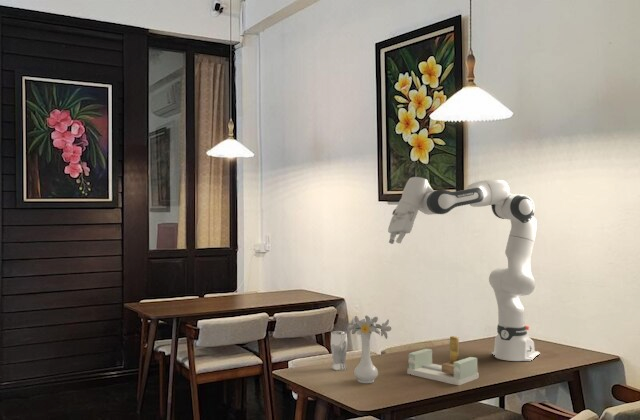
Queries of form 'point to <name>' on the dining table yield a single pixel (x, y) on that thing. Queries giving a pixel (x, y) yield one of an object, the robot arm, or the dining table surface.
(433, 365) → the track
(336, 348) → the beer glass
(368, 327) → the flower vase
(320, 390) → the dining table surface
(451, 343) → the carriage
